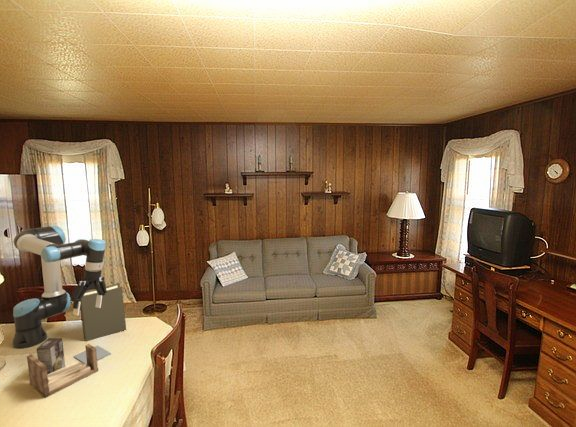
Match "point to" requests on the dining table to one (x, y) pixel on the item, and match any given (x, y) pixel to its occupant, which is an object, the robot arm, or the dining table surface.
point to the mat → (100, 354)
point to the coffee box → (52, 354)
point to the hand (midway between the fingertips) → (87, 311)
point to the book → (103, 313)
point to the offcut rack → (60, 373)
